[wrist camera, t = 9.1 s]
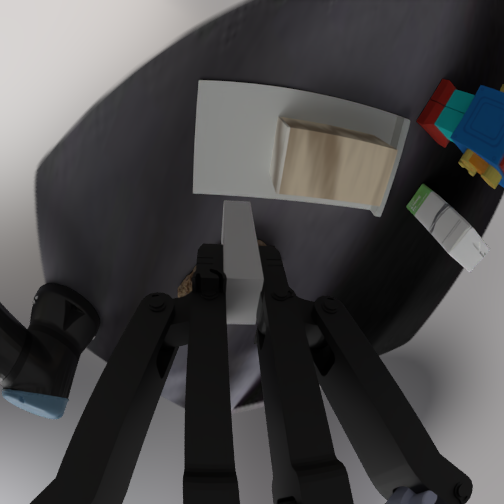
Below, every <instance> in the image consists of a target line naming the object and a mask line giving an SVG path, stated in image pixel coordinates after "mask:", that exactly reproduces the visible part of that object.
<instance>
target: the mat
mask: <svg viewBox="0 0 504 504" xmlns="http://www.w3.org/2000/svg"><path fill="white" fill-rule="evenodd" d="M278 117H285V118H292V119H299V120H305V121H311V122H316V123H322V124H327V125H332V126H337V127H341V128H346V129H350V130H355V131H359V132H363V133H367V134H371V135H374V136H376V137H378V138H379V139H381V140H383V141H384V142H386V143H387V144H389V145H391V146H392V147H394V148H395V149H397V150H398V152H397V155H396V158H395V162H394V165H393V168H392V172H391V175H390V178H389V181H388V184H387V187H386V190H385V193H384V196H383V199H382V202H381V205H380V206H374V205H367V204H360V203H353V202H346V201H338V200H330V199H322V198H313V197H304V196H295V195H285V194H276V192H275V189H274V186H273V182H272V179H271V176H270V173H269V171H270V164H271V158H272V151H273V145H274V138H275V132H276V125H277V119H278ZM410 121H411V120H408V119H406V118H404V117H401V116H398V115H395V114H392V113H389V112H386V111H383V110H380V109H377V108H373V107H370V106H367V105H363V104H359V103H356V102H352V101H348V100H344V99H340V98H336V97H331V96H327V95H322V94H317V93H312V92H307V91H302V90H296V89H290V88H284V87H277V86H269V85H261V84H252V83H242V82H229V81H212V80H199V85H198V98H197V111H196V127H195V146H194V172H193V193H196V194H214V195H231V196H245V197H258V198H270V199H281V200H292V201H302V202H311V203H320V204H329V205H337V206H345V207H353V208H361V209H368V210H370V211H371V212H372V213H373V214H374V216H379V217H381V214H382V212H383V209H384V206H385V203H386V201H387V198H388V195H389V192H390V189H391V186H392V183H393V180H394V177H395V174H396V170H397V167H398V164H399V161H400V157H401V154H402V151H403V147H404V143H405V140H406V136H407V132H408V129H409V125H410Z"/></svg>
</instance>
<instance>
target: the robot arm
mask: <svg viewBox="0 0 504 504" xmlns="http://www.w3.org/2000/svg"><path fill="white" fill-rule="evenodd" d="M256 318H257V330H256V335H255V340H254V344H256V343H257V347H258V355H259V364H260V372H261V381H262V389H263V397H264V406H265V414H266V421H267V430H268V438H269V447H270V454H271V462H272V470H273V481H272V494H273V502H274V504H354V503H353V498H352V493H351V489H350V484H349V479H348V474H347V471H346V468H345V466H344V465H343V463H342V462H340V461H339V460H338V459H337V458H336V456H335V453H334V448H333V443H332V439H331V434H330V430H329V425H328V421H327V417H326V412H325V408H324V404H323V400H322V395H321V391H320V387H319V384H320V386H321V388H322V390H323V391H324V393H325V395H326V397H327V399H328V401H329V403H330V405H331V407H332V409H333V410H334V412H335V414H336V416H337V418H338V420H339V422H340V424H341V425H342V427H343V429H344V431H345V433H346V435H347V437H348V438H349V441H350V442H351V444H352V446H353V448H354V450H355V452H356V454H357V456H358V458H359V459H360V461H361V463H362V465H363V467H364V469H365V471H366V473H367V474H368V476H369V478H370V480H371V481H372V483H373V485H374V486H375V488H376V489H377V490H378V491H379V493H380V494H381V495H382V496H383V497H384V498H385V499H387V500H388V501H387V502H386V503H385V504H465V503H466V502H467V501H468V500H469V498H470V496H471V494H472V488H473V485H472V481H471V480H470V478H469V477H468V476H467V475H466V474H464V473H463V472H462V471H460V470H459V469H458V468H457V467H456V466H454V465H453V464H452V463H451V462H449V461H448V460H447V459H446V458H444V457H443V456H442V455H441V454H440V453H439V452H438V450H437V448H436V446H435V445H434V443H433V441H432V440H431V438H430V436H429V435H428V433H427V431H426V430H425V428H424V426H423V425H422V423H421V421H420V420H419V418H418V416H417V415H416V413H415V412H414V410H413V408H412V407H411V405H410V404H409V402H408V401H407V399H406V398H405V396H404V394H403V393H402V391H401V389H400V388H399V386H398V385H397V383H396V382H395V380H394V379H393V377H392V376H391V374H390V373H389V371H388V369H387V368H386V366H385V365H384V363H383V362H382V360H381V359H380V357H379V356H378V354H377V353H376V351H375V350H374V348H373V347H372V345H371V344H370V343H369V341H368V340H367V338H366V337H365V335H364V334H363V332H362V331H361V329H360V328H359V327H358V325H357V324H356V322H355V321H354V319H353V318H352V317H351V315H350V314H349V312H348V311H347V309H346V308H345V307H344V305H343V304H342V303H341V302H340V301H339V300H338V299H336V298H334V297H331V296H321V297H319V298H317V300H316V301H315V302H312V301H308V300H304V299H301V298H299V297H297V296H296V294H295V292H294V291H293V290H292V289H291V288H290V287H289V286H288V282H287V278H286V275H285V271H284V267H283V263H282V261H281V256H280V252H279V251H278V250H277V249H276V248H275V247H274V246H260V245H258V243H257V237H256V232H255V226H254V220H253V215H252V209H251V204H250V202H245V201H228V200H224V207H223V221H222V236H221V244H202V246H201V247H200V248H199V249H198V255H197V264H196V271H195V272H194V273H193V275H192V291H191V292H190V293H189V294H187V295H185V296H183V297H179V298H175V299H172V298H171V297H170V296H169V295H167V294H165V293H158V292H157V293H152V294H149V295H147V296H146V297H145V298H144V299H143V300H142V301H141V303H140V305H139V306H138V308H137V310H136V312H135V313H134V315H133V317H132V319H131V320H130V322H129V324H128V326H127V328H126V329H125V331H124V333H123V335H122V337H121V338H120V340H119V342H118V344H117V346H116V348H115V350H114V351H113V353H112V355H111V357H110V359H109V361H108V363H107V365H106V367H105V369H104V371H103V373H102V374H101V376H100V379H99V381H98V383H97V384H96V386H95V389H94V391H93V393H92V395H91V397H90V399H89V401H88V403H87V405H86V407H85V410H84V412H83V414H82V416H81V418H80V420H79V423H78V425H77V427H76V429H75V432H74V434H73V436H72V439H71V441H70V443H69V446H68V448H67V450H66V453H65V456H64V458H63V461H62V463H61V466H60V468H59V471H58V473H57V476H56V478H55V479H54V480H53V481H52V482H51V483H50V484H49V485H48V486H47V487H46V488H45V489H44V490H43V491H42V492H41V493H40V494H39V495H38V496H37V497H36V498H35V499H34V500H33V501H32V502H31V503H30V504H122V502H123V500H124V497H125V495H126V492H127V490H128V486H129V483H130V480H131V477H132V474H133V471H134V468H135V465H136V462H137V459H138V457H139V454H140V451H141V448H142V445H143V442H144V439H145V436H146V434H147V431H148V428H149V425H150V422H151V420H152V417H153V414H154V411H155V409H156V406H157V403H158V400H159V398H160V395H161V392H162V390H163V387H164V385H165V382H166V379H167V377H168V374H169V371H170V369H171V366H172V364H173V361H174V358H175V356H176V353H177V351H178V348H179V346H183V345H187V344H188V356H187V374H186V398H185V469H184V475H183V504H240V500H239V490H238V481H237V476H236V471H235V461H234V448H233V434H232V419H231V403H230V385H229V365H228V343H227V324H255V322H256ZM99 325H100V321H99V317H98V314H97V313H96V311H95V309H94V308H93V307H92V305H91V304H90V303H89V302H88V301H87V300H86V299H84V298H83V297H82V296H81V295H79V294H78V293H76V292H75V291H73V290H71V289H69V288H67V287H65V286H62V285H58V284H45V285H43V286H41V287H40V288H39V290H38V291H37V293H36V295H35V297H34V300H33V307H32V312H31V320H30V325H29V327H28V329H26V328H25V327H24V326H23V325H22V324H21V323H20V322H19V321H18V320H17V319H16V318H15V317H14V316H13V315H12V314H11V313H10V312H9V311H8V310H7V309H6V308H5V307H4V306H3V305H2V304H1V303H0V385H1V386H2V387H3V389H2V396H3V397H4V398H5V399H6V400H7V401H9V402H10V403H12V404H13V405H15V406H17V407H19V408H21V409H23V410H26V411H28V412H31V413H33V414H36V415H38V416H42V417H45V418H49V419H59V418H61V417H62V416H63V414H64V410H65V408H66V405H67V402H68V401H69V399H68V397H69V393H70V389H71V386H72V382H73V378H74V375H75V371H76V368H77V364H78V361H79V358H80V355H81V353H82V352H83V351H84V350H85V348H86V347H87V346H88V345H89V343H90V342H91V341H92V339H94V337H95V336H96V334H97V331H98V328H99ZM318 382H319V383H318Z"/></svg>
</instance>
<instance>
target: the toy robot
mask: <svg viewBox="0 0 504 504" xmlns="http://www.w3.org/2000/svg"><path fill="white" fill-rule="evenodd" d="M416 122H417V123H418V124H420V125H421V126H422V127H423V128H424V129H425V130H426V131H427V133H428V134H429V135H430V136H431V137H432V138H433V139H434V140H435V141H436V142H437V143H438V144H439V145H441V146H443V147H446V146H447V144H448V143H449V141H452V142H454V143H455V144H456V145H457V146H458V148H459V149H460V150H461V151H462V153H463V156H462V158H461V159H460V161H459V162H458V163H459V165H460V166H461V167H463V168H464V167H465V168H466V169H467V170H468V172H469V174H470V175H471V176H474V175H475V173H476V172H478V173H479V174H480V175H481V177H482V178H483V179H484V180H485V182H486V183H487V184H488V185H490V186H491V187H492V188H494V189H495V188H496V187H497V185H498V184H500V185H501V186H502V187H503V188H504V84H503V85H502V87H501V89H500V91H498V90H495V89H492V88H489V87H486V86H482V85H480V87H479V89H478V91H477V93H476V95H472V94H469V93H466V92H463V91H460V90H457V89H456V87H455V86H454V85H453V84H452V83H451V81H450V80H445V79H442V80H441V82H440V84H439V85H438V87H437V89H436V90H435V92H434V94H433V95H432V97H431V98H430V100H429V102H428V103H427V105H426V107H425V108H424V110H423V111H422V113H421V114H420V116H419V118H418V119H417V121H416Z"/></svg>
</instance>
